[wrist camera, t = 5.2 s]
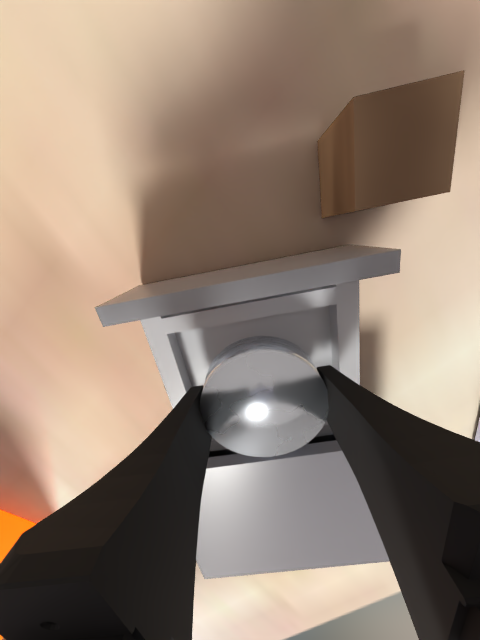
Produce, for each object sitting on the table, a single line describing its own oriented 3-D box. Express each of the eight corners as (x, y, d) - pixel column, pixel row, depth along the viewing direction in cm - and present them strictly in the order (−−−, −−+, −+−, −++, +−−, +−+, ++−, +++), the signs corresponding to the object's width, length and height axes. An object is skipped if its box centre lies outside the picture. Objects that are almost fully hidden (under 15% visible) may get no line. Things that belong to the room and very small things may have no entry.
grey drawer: (349, 244, 12) (401, 249, 8) (352, 401, 15) (389, 456, 11) (139, 285, 12) (95, 307, 9) (188, 425, 16) (172, 484, 12)
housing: (356, 384, 15) (402, 443, 11) (358, 487, 18) (392, 561, 14) (179, 411, 16) (156, 475, 11) (212, 504, 19) (204, 579, 15)
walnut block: (390, 124, 10) (464, 70, 7) (387, 204, 11) (450, 191, 8) (317, 141, 10) (353, 96, 7) (321, 218, 11) (354, 211, 8)
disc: (314, 327, 10) (327, 343, 9) (319, 422, 12) (331, 449, 10) (193, 345, 10) (185, 363, 9) (217, 435, 12) (214, 462, 11)
